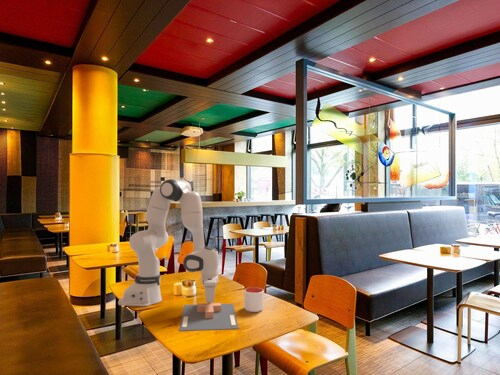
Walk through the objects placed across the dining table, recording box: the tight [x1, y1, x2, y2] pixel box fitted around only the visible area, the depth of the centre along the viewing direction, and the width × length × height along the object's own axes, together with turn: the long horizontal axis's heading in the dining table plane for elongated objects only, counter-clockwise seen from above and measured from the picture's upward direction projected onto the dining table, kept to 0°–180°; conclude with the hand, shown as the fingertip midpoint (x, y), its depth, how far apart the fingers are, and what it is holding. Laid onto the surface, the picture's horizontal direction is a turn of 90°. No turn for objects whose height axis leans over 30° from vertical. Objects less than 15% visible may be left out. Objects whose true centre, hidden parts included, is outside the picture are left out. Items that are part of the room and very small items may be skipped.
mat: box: [178, 303, 240, 332], centre depth 156 cm, size 26×32×1 cm
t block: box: [196, 302, 222, 318], centre depth 159 cm, size 12×12×3 cm
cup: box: [243, 287, 265, 313], centre depth 166 cm, size 10×10×10 cm
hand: (209, 305), depth 166 cm, fingers closed
